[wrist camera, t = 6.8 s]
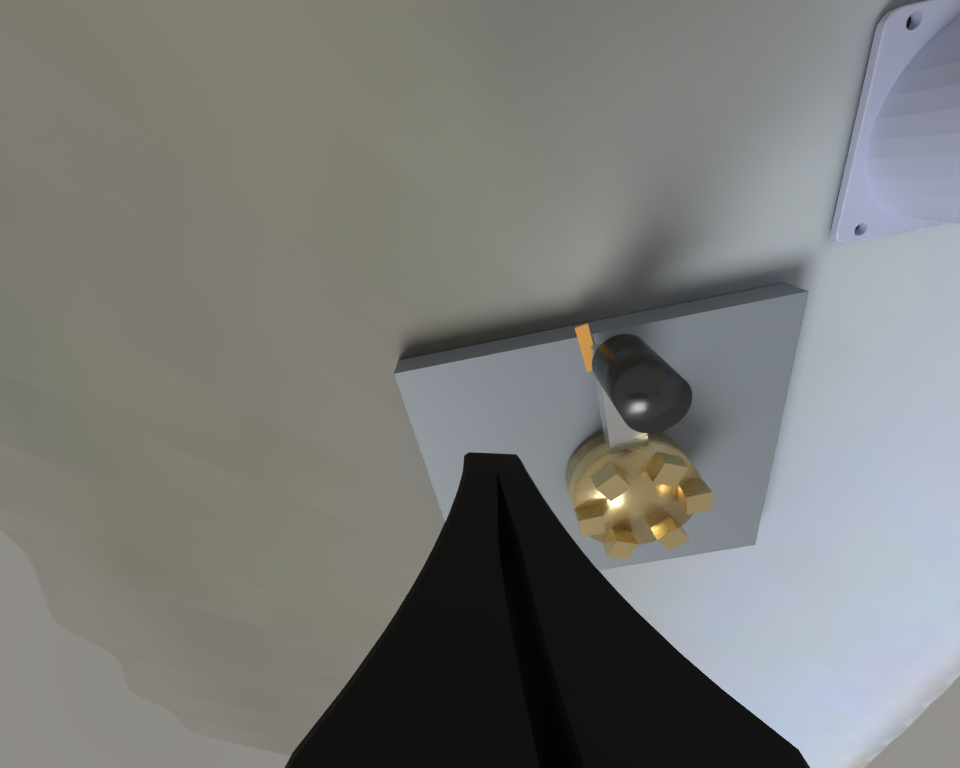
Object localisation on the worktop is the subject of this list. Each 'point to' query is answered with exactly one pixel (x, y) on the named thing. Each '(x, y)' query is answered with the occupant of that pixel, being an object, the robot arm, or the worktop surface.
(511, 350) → the grey board
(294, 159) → the worktop surface
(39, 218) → the worktop surface
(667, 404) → the spiked mace toy
